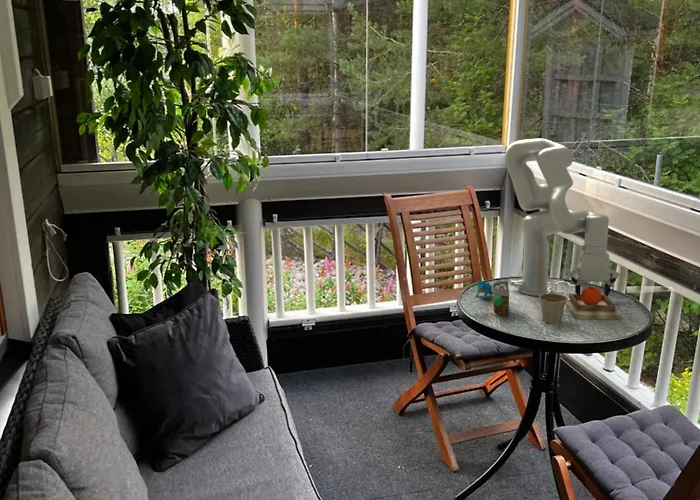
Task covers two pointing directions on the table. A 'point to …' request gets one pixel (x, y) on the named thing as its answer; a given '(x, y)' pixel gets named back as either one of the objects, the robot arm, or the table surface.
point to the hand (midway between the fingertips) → (592, 295)
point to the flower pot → (552, 307)
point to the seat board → (592, 308)
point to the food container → (501, 298)
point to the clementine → (591, 295)
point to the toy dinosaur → (484, 289)
